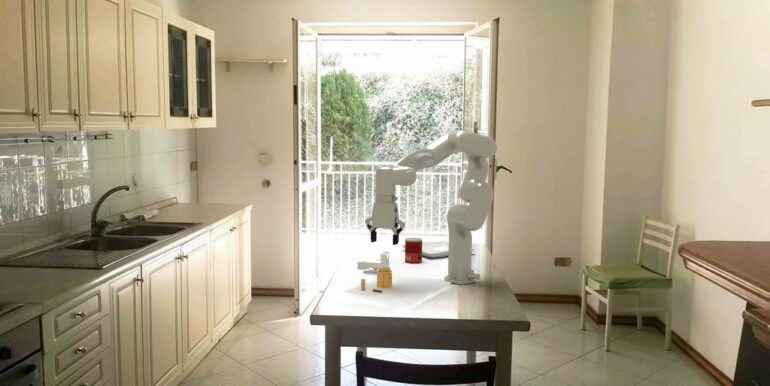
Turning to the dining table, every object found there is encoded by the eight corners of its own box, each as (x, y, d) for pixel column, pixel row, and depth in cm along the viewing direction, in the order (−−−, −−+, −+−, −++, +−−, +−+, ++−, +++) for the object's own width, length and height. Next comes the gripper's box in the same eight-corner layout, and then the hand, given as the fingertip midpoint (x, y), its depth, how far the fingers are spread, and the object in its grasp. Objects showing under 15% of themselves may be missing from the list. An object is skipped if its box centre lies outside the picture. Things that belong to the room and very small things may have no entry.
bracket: (388, 267, 278) (389, 251, 278) (386, 271, 272) (386, 254, 271) (360, 266, 281) (360, 249, 280) (357, 269, 274) (357, 252, 273)
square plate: (475, 255, 307) (475, 248, 306) (429, 261, 293) (429, 253, 293) (443, 246, 330) (444, 239, 330) (400, 251, 317) (400, 243, 316)
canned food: (422, 263, 285) (422, 240, 284) (405, 263, 286) (405, 240, 285) (421, 260, 293) (421, 237, 292) (404, 260, 293) (405, 237, 292)
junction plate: (399, 288, 241) (399, 274, 240) (372, 300, 224) (373, 285, 223) (373, 284, 247) (373, 270, 246) (345, 295, 230) (345, 281, 229)
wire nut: (394, 285, 239) (394, 267, 239) (386, 288, 235) (387, 270, 234) (381, 283, 242) (381, 266, 241) (374, 286, 237) (374, 268, 237)
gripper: (409, 199, 234) (408, 244, 236) (371, 196, 243) (370, 239, 244) (400, 201, 227) (399, 247, 229) (360, 198, 236) (360, 242, 238)
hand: (384, 243), depth 237 cm, fingers open, 9 cm apart
